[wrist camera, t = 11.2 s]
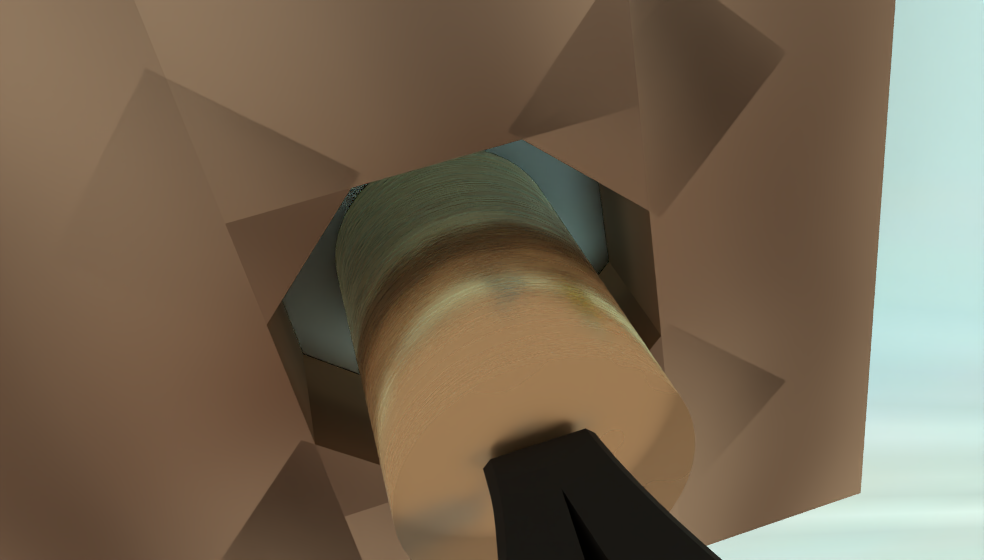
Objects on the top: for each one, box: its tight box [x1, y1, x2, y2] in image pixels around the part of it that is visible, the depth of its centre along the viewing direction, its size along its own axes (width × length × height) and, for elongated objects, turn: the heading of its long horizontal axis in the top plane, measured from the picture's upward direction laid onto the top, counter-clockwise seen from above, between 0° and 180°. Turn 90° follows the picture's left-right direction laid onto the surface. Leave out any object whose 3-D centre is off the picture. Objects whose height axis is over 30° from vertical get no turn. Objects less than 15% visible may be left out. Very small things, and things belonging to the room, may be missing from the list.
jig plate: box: [0, 0, 895, 560], centre depth 15 cm, size 20×14×2 cm
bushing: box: [335, 151, 695, 560], centre depth 14 cm, size 4×4×6 cm
